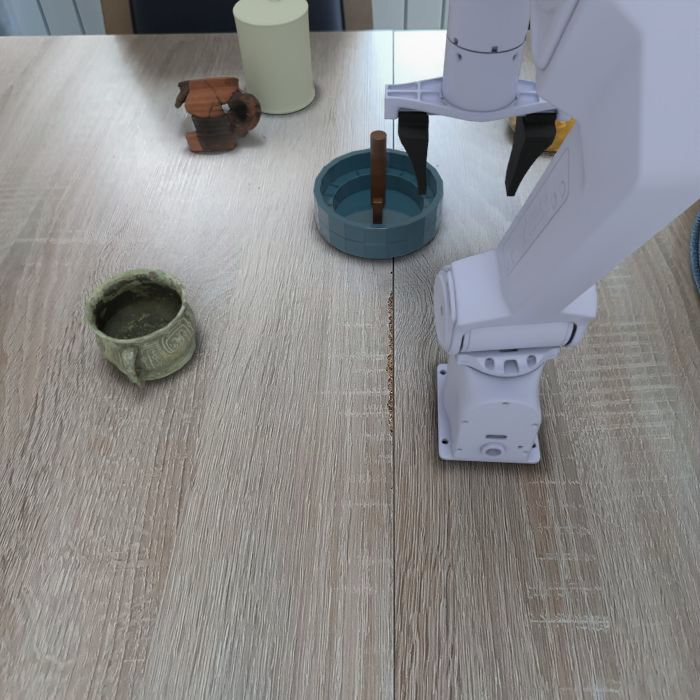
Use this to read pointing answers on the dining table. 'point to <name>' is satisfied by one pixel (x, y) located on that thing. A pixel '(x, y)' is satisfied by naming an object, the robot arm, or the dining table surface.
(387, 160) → the bowl
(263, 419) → the dining table surface
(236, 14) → the can
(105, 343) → the vessel
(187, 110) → the pottery mug
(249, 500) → the dining table surface
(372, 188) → the stirring stick
